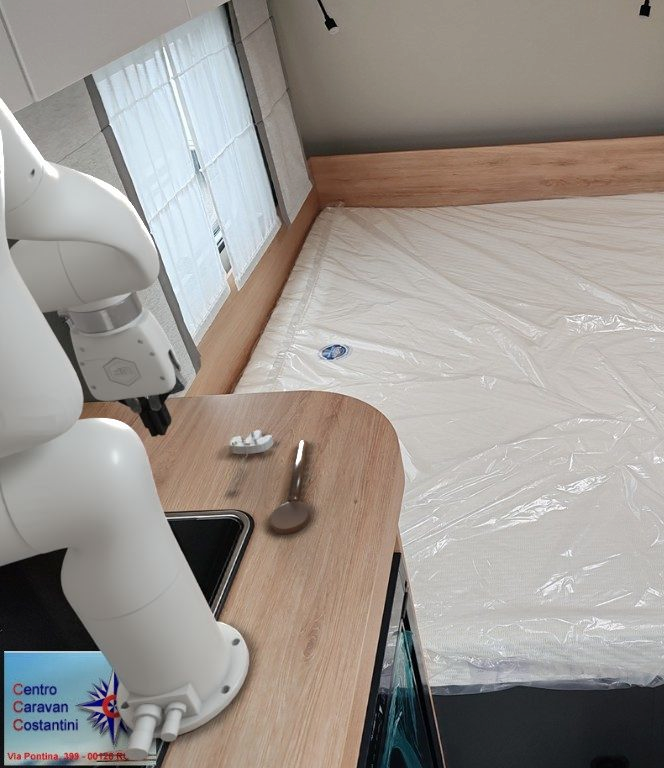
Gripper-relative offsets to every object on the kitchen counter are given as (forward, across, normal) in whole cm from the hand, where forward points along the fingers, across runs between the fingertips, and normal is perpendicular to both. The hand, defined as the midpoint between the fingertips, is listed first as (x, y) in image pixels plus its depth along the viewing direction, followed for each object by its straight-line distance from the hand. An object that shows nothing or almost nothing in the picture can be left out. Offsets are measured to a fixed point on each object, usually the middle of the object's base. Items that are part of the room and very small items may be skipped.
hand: (161, 429), depth 100 cm
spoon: (+7, +17, -8) cm, 20 cm away
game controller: (+7, +9, -1) cm, 12 cm away
